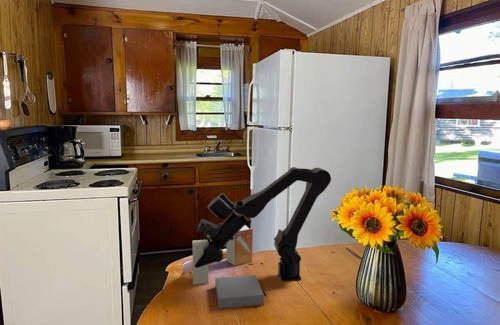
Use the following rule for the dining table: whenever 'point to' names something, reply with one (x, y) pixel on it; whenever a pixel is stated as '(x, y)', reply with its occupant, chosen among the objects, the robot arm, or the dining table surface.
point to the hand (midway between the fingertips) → (196, 261)
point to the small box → (240, 247)
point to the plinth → (238, 291)
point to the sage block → (201, 272)
